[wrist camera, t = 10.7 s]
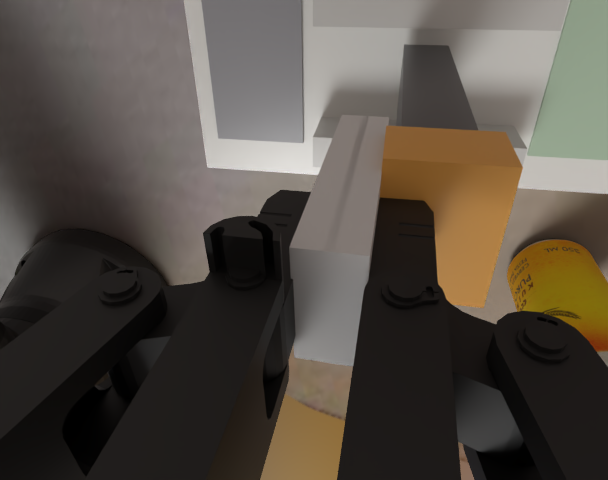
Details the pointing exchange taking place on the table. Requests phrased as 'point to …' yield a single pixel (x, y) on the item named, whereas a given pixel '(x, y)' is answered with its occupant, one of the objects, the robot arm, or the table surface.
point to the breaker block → (387, 72)
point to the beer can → (563, 288)
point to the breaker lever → (450, 171)
